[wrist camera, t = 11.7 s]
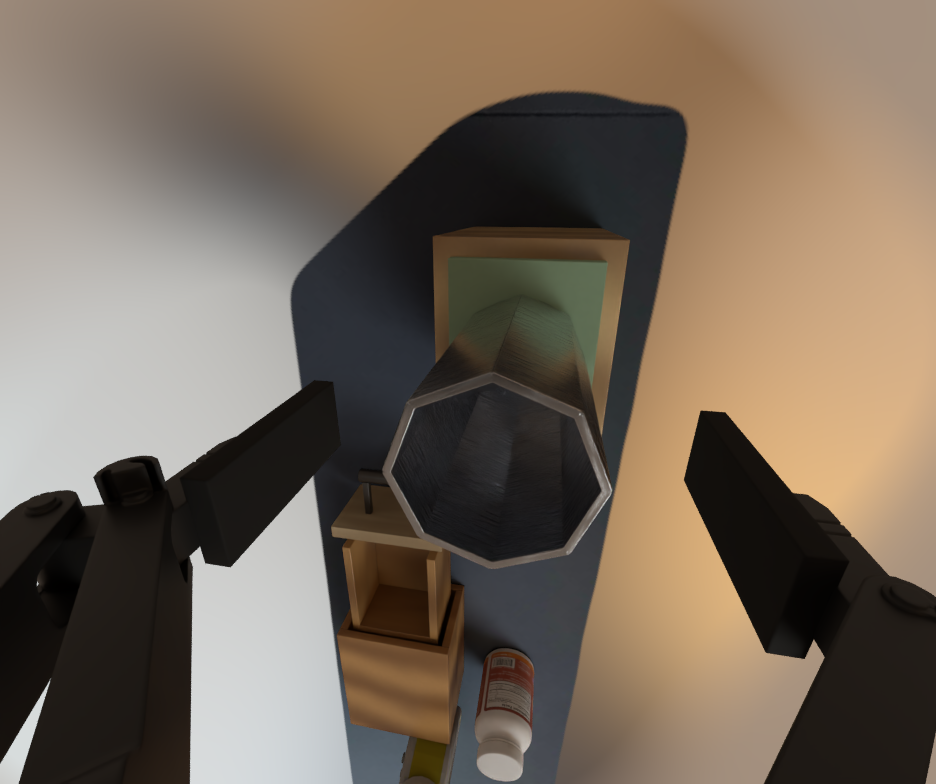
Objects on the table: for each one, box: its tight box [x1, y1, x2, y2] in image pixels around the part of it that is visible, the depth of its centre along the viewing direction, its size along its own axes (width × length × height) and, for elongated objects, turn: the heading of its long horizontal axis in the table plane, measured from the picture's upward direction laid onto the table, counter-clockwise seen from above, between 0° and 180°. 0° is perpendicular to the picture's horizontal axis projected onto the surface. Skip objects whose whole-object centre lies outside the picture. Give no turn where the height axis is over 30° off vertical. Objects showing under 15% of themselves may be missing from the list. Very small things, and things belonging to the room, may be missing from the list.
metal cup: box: [382, 294, 612, 569], centre depth 18 cm, size 6×6×12 cm
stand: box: [433, 227, 630, 436], centre depth 30 cm, size 12×10×13 cm
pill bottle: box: [475, 648, 534, 781], centre depth 49 cm, size 6×6×11 cm
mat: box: [448, 257, 608, 388], centre depth 24 cm, size 10×8×1 cm
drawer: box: [331, 468, 451, 644], centre depth 44 cm, size 18×10×7 cm, turn 179°
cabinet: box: [337, 584, 464, 744], centre depth 50 cm, size 15×12×9 cm
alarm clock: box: [399, 706, 461, 784], centre depth 52 cm, size 12×7×15 cm, turn 174°
